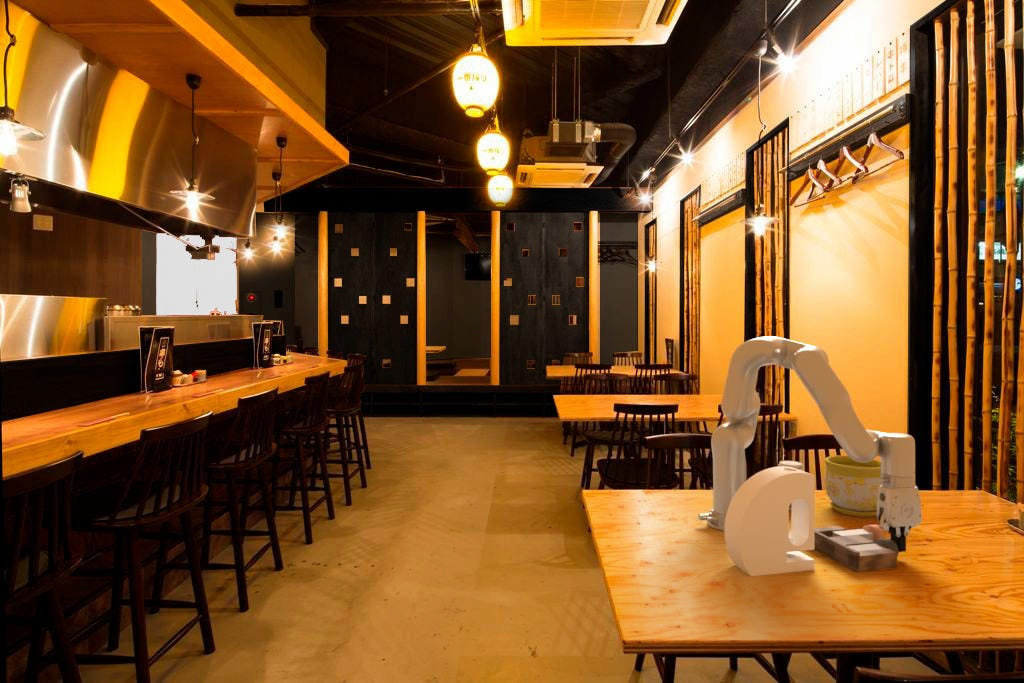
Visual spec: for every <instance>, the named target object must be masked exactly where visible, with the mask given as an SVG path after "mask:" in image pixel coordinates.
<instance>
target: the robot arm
mask: <svg viewBox="0 0 1024 683" xmlns="http://www.w3.org/2000/svg"><path fill="white" fill-rule="evenodd" d="M771 365H776V366H778V367H782V368H785V369H789V370H793V371H794V372H795V374H796V376H797V378H798V379H799V380H800V382H801V383H802V384H803V386H804V387H805V389H806V390H807V391H808V393H809V395H810V396H811V398H812V400H814V402H815V404H816V405H817V407H818V409H819V411H820V413H821V416H822V418H823V419H824V421H825V422H826V425H827V426H828V428H829V430H830V431H831V433H832V435H833V436H834V438H835V439H836V442H837V443H838V444H839V445H840V447H841V449H842V450H843V451H844V453H845V454H846V456H849V457H850V458H851V459H853V460H854V461H857V462H861V463H865V462H870V461H872V460H873V459H876V457H879V458H880V461H881V478H880V479H879V481H880V483H881V485H880V487H879V492H878V499H877V515H876V519H877V521H878V522H879V524H878V525H879V528H881V529H883V531H887V533H888V534H889V535H890V539H891V540H893V541H894V542H895V543H896V545H897V547H898V550H899V553H904V552H907V537H909V536H908V535H909V532H910V530H911V529H912V528H916V527H917V526H918V525H920V524H922V519H923V517H922V516H923V514H922V501H921V494H920V492H919V488H918V486H917V485H916V441H915V438H914V436H912V435H911V434H907V433H900V432H884V431H883V432H882V431H877V430H872V429H866V428H865V426H864V425H863V424H862V422H861V420H860V419H859V417H858V415H857V414H856V411H855V409H854V408H853V405H852V400H851V395H850V393H849V391H848V390H847V387H845V385H844V384H843V383H842V380H841V379H840V378H839V377H838V375H837V374H836V373H835V371H834V369H833V368H832V367H831V365H830V364H829V357H828V354H827V353H826V351H825V350H823V348H821V347H818V346H817V345H811V344H806V343H802V342H798V341H795V340H790V339H789V338H788V339H787V338H784V337H780V336H774V335H771V336H770V335H769V336H760V337H755V338H752V339H749V340H746V341H745V342H742V343H741V344H740V345H739V346H737V347H736V349H735V350H734V352H733V353H732V355H731V357H730V361H729V365H728V369H727V374H726V379H725V384H724V388H723V394H722V398H721V402H720V408H721V411H722V414H723V415H724V416H725V420H724V421H725V422H724V423H722V424H720V425H719V426H716V428H715V429H714V431H713V432H712V435H711V439H710V446H711V453H712V475H713V476H712V481H713V483H712V484H713V485H712V492H713V493H712V495H713V496H712V499H713V500H712V506H713V507H712V509H711V508H710V509H709V511H708V512H707V513H699V514H698V515H697V516H698V517H697V518H698V520H699V521H706V522H707V524H708V526H709V527H711V528H713V529H715V530H716V531H717V530H719V531H722V532H724V527H725V518H726V514H727V510H728V507H729V505H730V502H731V500H732V498H733V497H734V495H735V493H736V492H737V490H738V489H739V488H740V487H741V485H742V484H743V483H744V482H745V481H747V460H746V454H745V453H746V451H745V449H747V448H748V447H749V446H750V445H751V444H752V442H753V441H754V438H755V434H756V431H757V430H756V429H757V424H758V422H759V421H758V419H759V416H760V411H761V398H760V395H759V393H758V392H757V391H756V386H757V382H758V375H759V370H760V368H761V367H765V366H771Z"/></svg>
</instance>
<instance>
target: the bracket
mask: <svg viewBox="0 0 1024 683" xmlns="http://www.w3.org/2000/svg"><path fill="white" fill-rule="evenodd" d="M815 477H816V476H815V474H814V473H813V474H812V473H809V472H806V471H805V470H804V471H802V470H799V469H796V468H792V467H784V466H781V467H777V466H773V467H772V466H771V467H768V468H765V469H763V470H762V469H761V470H760V471H758V472H756V473H755V474H753V475H751V476H750V477H749V478H747V479H746V481H745V482H744V483H743V484H742V485H741V487H740V488H739V489H738V490H737V492H736V493H735V495H734V497H733V498H732V500H731V502H730V505H729V507H728V510H727V514H726V518H725V527H724V531H723V533H724V541H725V546H726V550H727V551H728V554H729V557H730V559H731V560H732V563H733V564H734V565H735V566H736V567H737V568H739V570H741V571H743V572H744V573H746V574H747V575H749V576H750V577H758V576H766V575H767V576H768V575H777V574H785V573H786V574H788V573H796V572H806V571H807V572H809V571H815V559H814V558H812V557H810V556H809V555H807V554H806V553H804V552H802V551H813V550H814V530H815V528H816V527H815V516H816V515H815V514H816V513H815V512H816V511H815V509H816V508H815V502H816V501H815V500H816V498H815V493H816V492H815V488H816V487H815V484H816V483H815V479H816V478H815ZM790 504H791V510H789V506H790ZM790 511H791V514H789V512H790ZM790 515H791V517H790V518H791V526H790V523H789V520H790V518H789V516H790ZM789 526H790V527H789ZM789 528H790V530H789ZM814 551H815V550H814Z"/></svg>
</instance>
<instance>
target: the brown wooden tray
mask: <svg viewBox="0 0 1024 683" xmlns="http://www.w3.org/2000/svg"><path fill="white" fill-rule="evenodd" d="M845 530H847V528H844V527H842V526H840V525H832V526H820V527H819V526H818V527H815V530H814V551H815V552H818V553H819V554H821V555H823V556H825V557H826V558H829V559H830V560H832V561H834V562H836V563H838V564H840V565H841V566H843V567H845V568H847V569H849V570H851V571H853V572H854V573H863V572H873V571H879V570H880V571H883V570H891V569H897V568H898V556H897V552H895V551H893V550H891V549H889V548H886V549H876V550H865V551H856V550H854V549H852V548H850V547H848V546H853V545H863V544H874V542H873V541H871V540H869V539H867V538H864V537H862V536H860V535H848V536H837V537H832V532H833V531H845Z"/></svg>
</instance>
